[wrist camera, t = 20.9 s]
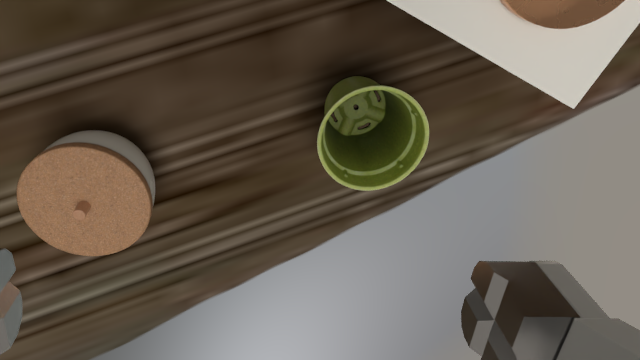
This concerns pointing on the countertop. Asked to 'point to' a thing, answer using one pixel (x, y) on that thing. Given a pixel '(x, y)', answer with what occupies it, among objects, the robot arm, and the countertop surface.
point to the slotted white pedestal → (532, 41)
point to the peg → (561, 11)
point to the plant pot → (371, 134)
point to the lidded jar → (88, 193)
